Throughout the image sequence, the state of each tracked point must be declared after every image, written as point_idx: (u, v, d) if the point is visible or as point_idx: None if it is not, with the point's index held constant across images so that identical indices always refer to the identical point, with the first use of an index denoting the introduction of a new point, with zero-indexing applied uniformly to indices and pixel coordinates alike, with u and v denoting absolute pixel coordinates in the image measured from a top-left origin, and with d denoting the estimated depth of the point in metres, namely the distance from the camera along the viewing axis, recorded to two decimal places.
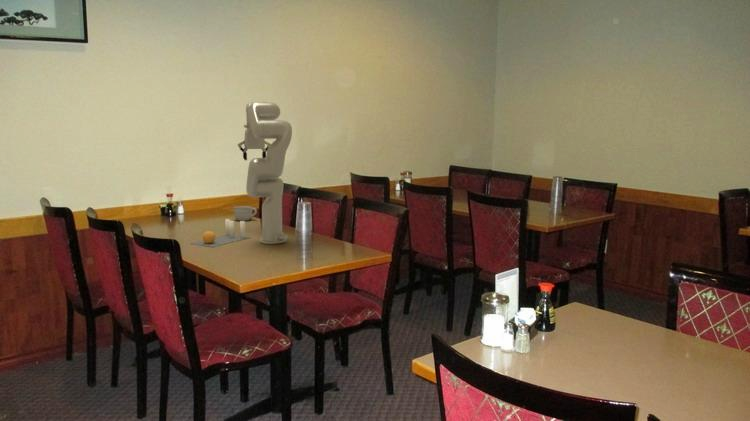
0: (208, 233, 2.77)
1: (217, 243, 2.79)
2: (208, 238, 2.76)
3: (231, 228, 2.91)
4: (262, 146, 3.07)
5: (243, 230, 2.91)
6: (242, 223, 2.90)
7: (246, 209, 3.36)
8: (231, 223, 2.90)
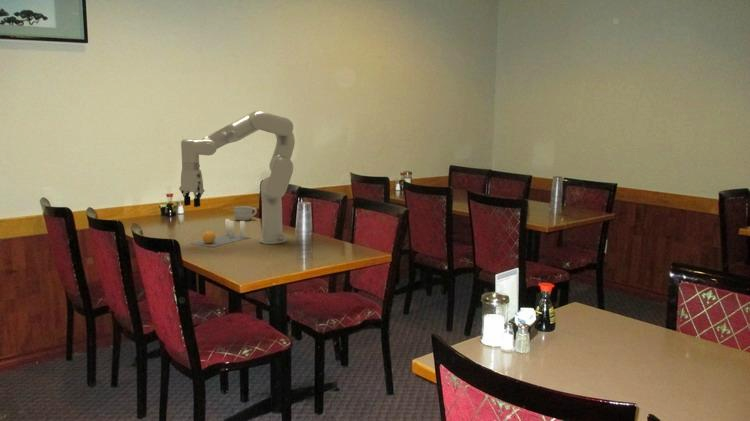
0: (208, 233, 2.77)
1: (217, 243, 2.79)
2: (208, 238, 2.76)
3: (231, 228, 2.91)
4: None
5: (243, 230, 2.91)
6: (242, 223, 2.90)
7: (246, 209, 3.36)
8: (231, 223, 2.90)
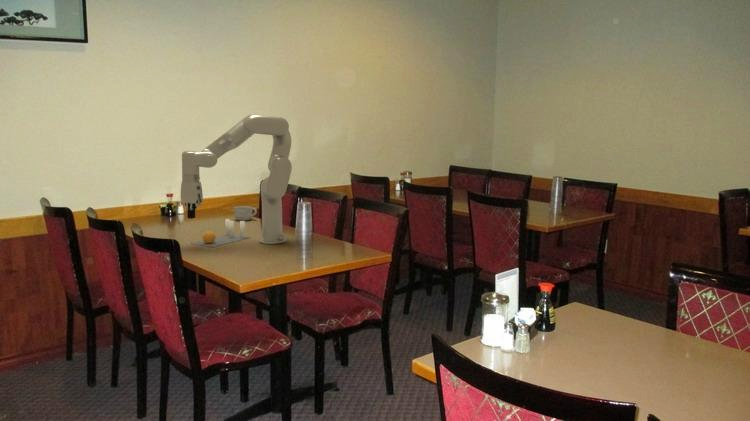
0: (208, 233, 2.77)
1: (217, 243, 2.79)
2: (208, 238, 2.76)
3: (231, 228, 2.91)
4: None
5: (243, 230, 2.91)
6: (242, 223, 2.90)
7: (246, 209, 3.36)
8: (231, 223, 2.90)
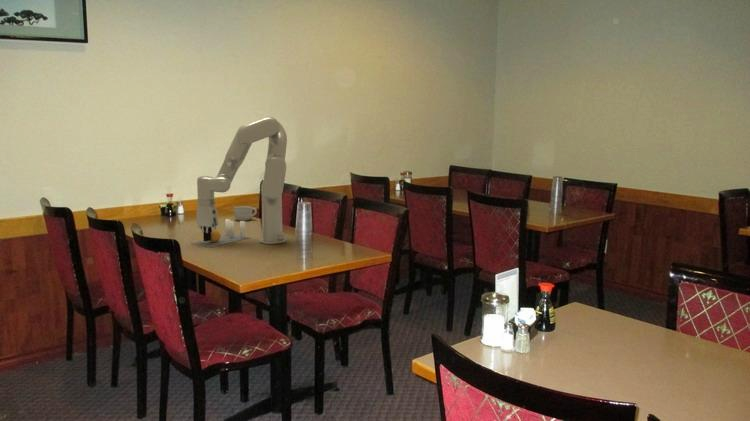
0: None
1: (217, 243, 2.79)
2: (214, 232, 2.80)
3: (231, 228, 2.91)
4: None
5: (243, 230, 2.91)
6: (242, 223, 2.90)
7: (246, 209, 3.36)
8: (231, 223, 2.90)
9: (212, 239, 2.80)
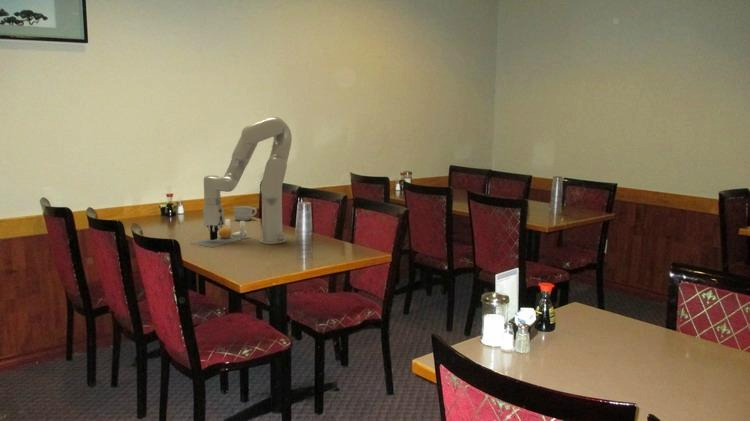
0: (227, 237, 2.90)
1: (217, 243, 2.79)
2: None
3: None
4: None
5: (243, 230, 2.91)
6: (242, 223, 2.90)
7: (246, 209, 3.36)
8: None
9: None
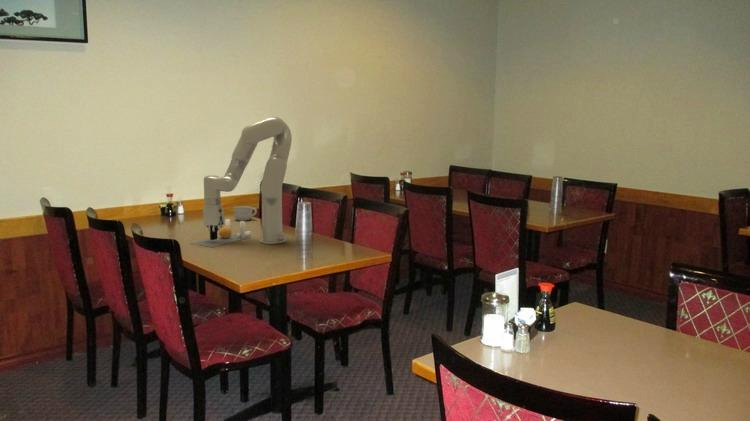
0: (227, 237, 2.90)
1: (217, 243, 2.79)
2: None
3: None
4: None
5: (243, 230, 2.91)
6: (242, 223, 2.90)
7: (246, 209, 3.36)
8: None
9: None
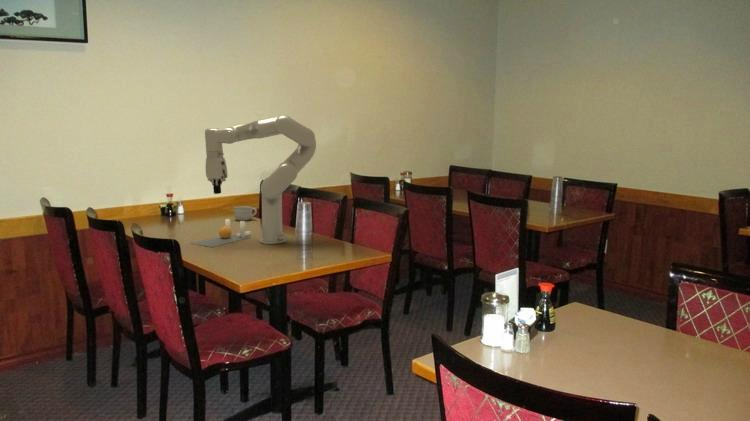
0: (227, 237, 2.90)
1: (217, 243, 2.79)
2: None
3: None
4: None
5: (243, 230, 2.91)
6: (242, 223, 2.90)
7: (246, 209, 3.36)
8: None
9: None
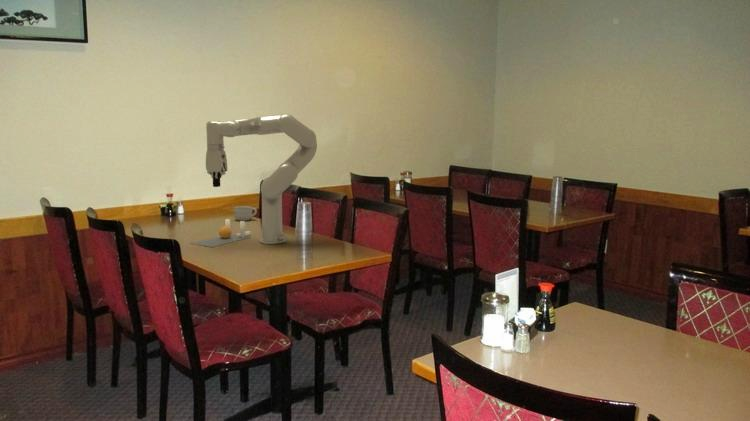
0: (227, 237, 2.90)
1: (217, 243, 2.79)
2: None
3: None
4: None
5: (243, 230, 2.91)
6: (242, 223, 2.90)
7: (246, 209, 3.36)
8: None
9: None
